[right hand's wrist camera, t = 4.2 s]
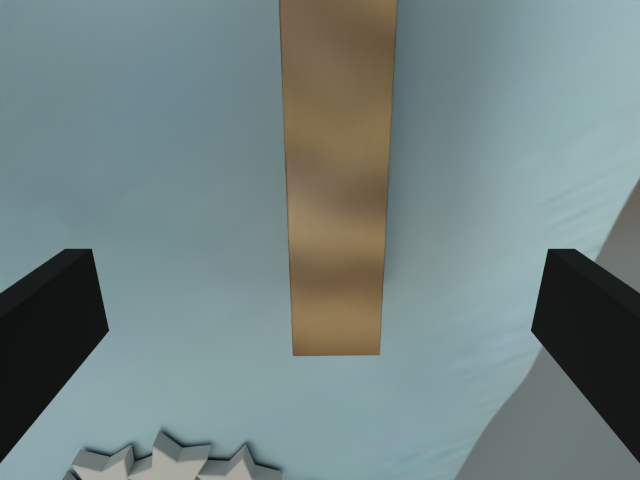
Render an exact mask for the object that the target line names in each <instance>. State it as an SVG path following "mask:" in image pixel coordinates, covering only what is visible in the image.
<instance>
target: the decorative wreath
mask: <svg viewBox="0 0 640 480" xmlns="http://www.w3.org/2000/svg"><path fill="white" fill-rule="evenodd" d="M210 448H211V445H203V446H194V447H185V448H182V447H181V446H179V445H178V444H176V443H175V442H174V441H172V440H171V439H170V438H168V437H167V436H165V435H164V434H163V433H161V432H160V431H159V433H158V435H157V437H156V439H155V442H154V444H153V454H152V456H149V457H147V458H144V459H141V460H138V461H136V462H134V456H133V450H132V444H131V445H130V446H128V447H126V448H125V449H123V450H121V451H120V452H118V453H116V454H115V455H113V456H111V457H108V456H104V455H100V454H96V453H92V452H88V451H84V450H80V451H79V453H78V454H77V456H76V458H75V459H74V461H73V462H72V464H71V465H72V466H73V468H74V469H75V471H76V472H77V473H78V475H79V476H80V478H81V479H82V480H282V472H281V471H277V470H274V469H270V468H266V467H262V466H258V465H255V464H254V462H253V459H252V457H251V455H250V452H249V450H248V448H247V446H246V444H245V445H244V446H243V447H242V448H241V449H240V450H239V451H238V452H237V453H236V454H235V455H234V456H233V458H232V459H231V460H230V461H217V460H207V459H208V455H209V451H210ZM63 480H77V479H76V478H75V477H74V476H73V475H72V474H71V473H70V472H69V471H68V472H67V473H66V475H65V477H64V478H63Z"/></svg>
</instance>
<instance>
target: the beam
mask: <svg viewBox="0 0 640 480" xmlns="http://www.w3.org/2000/svg"><path fill="white" fill-rule="evenodd" d="M397 3H398V0H279V16H280V42H281V67H282V92H283V118H284V143H285V168H286V194H287V219H288V244H289V270H290V295H291V321H292V346H293V356H330V355H379V354H380V338H381V318H382V298H383V279H384V259H385V239H386V219H387V200H388V180H389V160H390V141H391V121H392V101H393V82H394V62H395V42H396V22H397Z"/></svg>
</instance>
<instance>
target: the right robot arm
mask: <svg viewBox="0 0 640 480" xmlns="http://www.w3.org/2000/svg"><path fill="white" fill-rule="evenodd" d="M108 331H109V328H108V323H107V319H106V314H105V309H104V304H103V300H102V295H101V290H100V285H99V281H98V276H97V271H96V266H95V262H94V257H93V252H92V249H64V250H63V251H61V252H60V253H58V254H57V255H55V256H54V257H53V258H51V259H50V260H48V261H47V262H45V263H44V264H42V265H41V266H39V267H38V268H37V269H35V270H34V271H32V272H31V273H29V274H28V275H26V276H25V277H23V278H22V279H21V280H19V281H18V282H16V283H15V284H13V285H12V286H10V287H9V288H7V289H6V290H5V291H3V292H2V293H0V463H1V462H2V461H3V459H4V458H5V457H6V456H7V454H8V453H9V452H10V451H11V450H12V448H13V447H14V446H15V445H16V443H17V442H18V441H19V440H20V439H21V437H22V436H23V435H24V434H25V433H26V431H27V430H28V429H29V428H30V426H31V425H32V424H33V423H34V422H35V420H36V419H37V418H38V417H39V415H40V414H41V413H42V412H43V411H44V409H45V408H46V407H47V406H48V405H49V403H50V402H51V401H52V400H53V398H54V397H55V396H56V395H57V394H58V392H59V391H60V390H61V389H62V387H63V386H64V385H65V384H66V383H67V381H68V380H69V379H70V378H71V377H72V375H73V374H74V373H75V372H76V370H77V369H78V368H79V367H80V366H81V364H82V363H83V362H84V361H85V359H86V358H87V357H88V356H89V355H90V353H91V352H92V351H93V350H94V348H95V347H96V346H97V345H98V344H99V342H100V341H101V340H102V339H103V338H104V336H105V335H106V334H107V333H108ZM531 331H532V333H533V334H534V335H535V336H536V338H537V339H538V340H539V341H540V342H541V344H542V345H543V346H544V347H545V348H546V350H547V351H548V352H549V353H550V355H551V356H552V357H553V358H554V359H555V361H556V362H557V363H558V364H559V365H560V367H561V368H562V369H563V370H564V372H565V373H566V374H567V375H568V377H569V378H570V379H571V380H572V381H573V383H574V384H575V385H576V386H577V387H578V389H579V390H580V391H581V392H582V394H583V395H584V396H585V397H586V398H587V400H588V401H589V402H590V403H591V404H592V406H593V407H594V408H595V409H596V411H597V412H598V413H599V414H600V415H601V417H602V418H603V419H604V420H605V422H606V423H607V424H608V425H609V426H610V428H611V429H612V430H613V431H614V433H615V434H616V435H617V436H618V437H619V439H620V440H621V441H622V442H623V443H624V445H625V446H626V447H627V448H628V450H629V451H630V452H631V453H632V454H633V456H634V457H635V458H636V459H637V460H638V462H639V463H640V293H638V292H637V291H635V290H634V289H633V288H631V287H630V286H628V285H627V284H625V283H624V282H622V281H621V280H619V279H618V278H617V277H615V276H614V275H612V274H611V273H609V272H608V271H606V270H605V269H603V268H602V267H601V266H599V265H598V264H596V263H595V262H593V261H592V260H590V259H589V258H587V257H586V256H585V255H583V254H582V253H580V252H579V251H577V250H576V249H548V252H547V257H546V262H545V266H544V271H543V276H542V281H541V285H540V290H539V295H538V300H537V304H536V309H535V314H534V319H533V323H532V328H531Z"/></svg>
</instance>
